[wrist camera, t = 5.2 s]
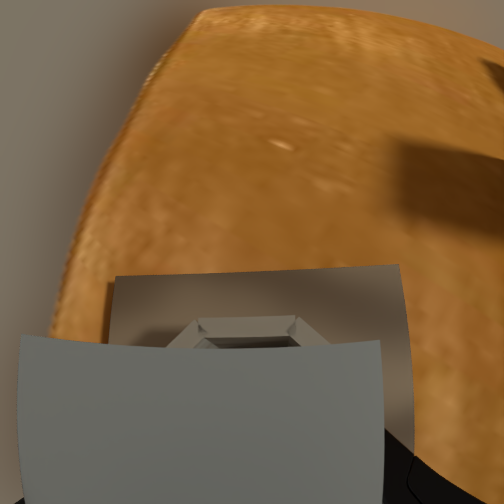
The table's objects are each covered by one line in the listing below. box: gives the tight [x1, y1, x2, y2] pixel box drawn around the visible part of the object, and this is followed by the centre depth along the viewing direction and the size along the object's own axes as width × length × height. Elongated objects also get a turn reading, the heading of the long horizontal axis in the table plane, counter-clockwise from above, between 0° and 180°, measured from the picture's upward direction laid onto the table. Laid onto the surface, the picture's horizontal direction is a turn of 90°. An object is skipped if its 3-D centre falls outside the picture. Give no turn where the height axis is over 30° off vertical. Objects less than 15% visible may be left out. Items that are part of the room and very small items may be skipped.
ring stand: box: [108, 264, 414, 453], centre depth 12 cm, size 16×16×5 cm
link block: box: [17, 334, 384, 504], centre depth 8 cm, size 5×5×12 cm
